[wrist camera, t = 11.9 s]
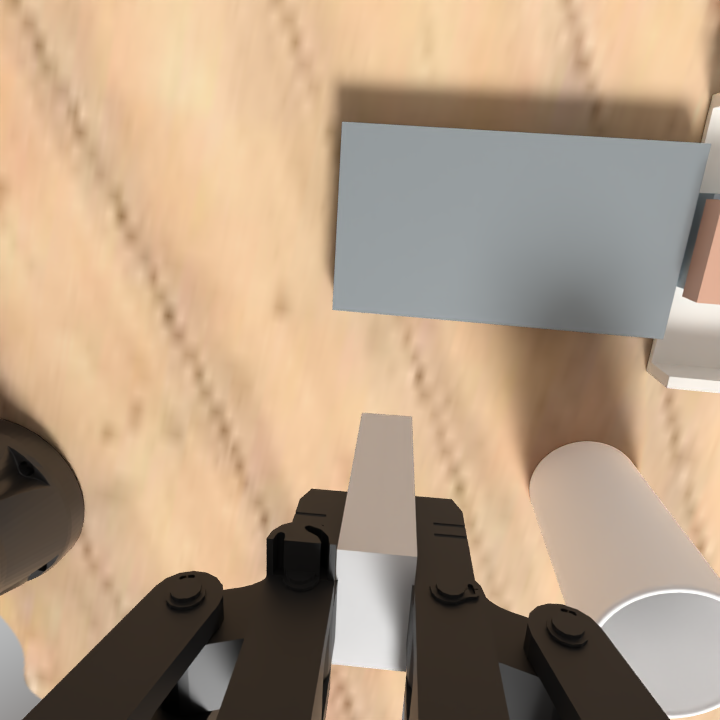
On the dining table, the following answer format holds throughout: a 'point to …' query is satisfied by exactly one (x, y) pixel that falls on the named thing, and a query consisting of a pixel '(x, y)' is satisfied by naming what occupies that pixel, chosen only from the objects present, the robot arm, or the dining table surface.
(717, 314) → the box
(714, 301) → the terracotta tile
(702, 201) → the blue tile
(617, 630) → the cup
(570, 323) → the board
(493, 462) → the dining table surface
